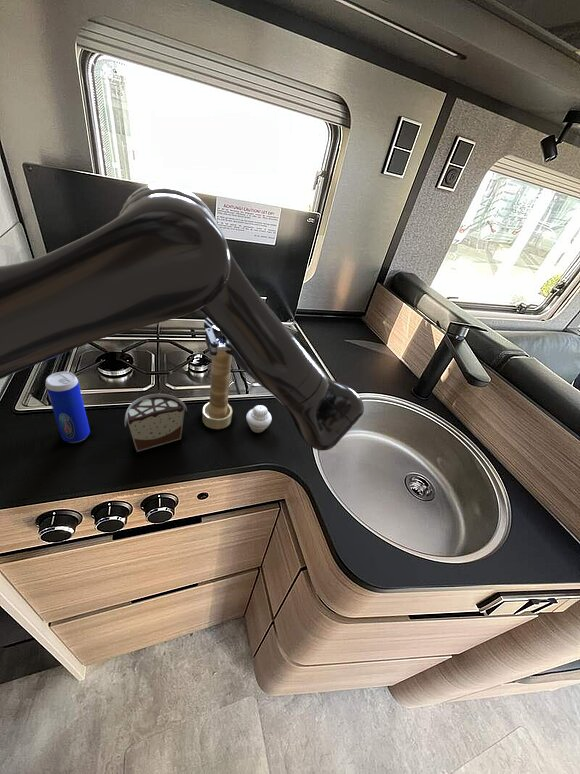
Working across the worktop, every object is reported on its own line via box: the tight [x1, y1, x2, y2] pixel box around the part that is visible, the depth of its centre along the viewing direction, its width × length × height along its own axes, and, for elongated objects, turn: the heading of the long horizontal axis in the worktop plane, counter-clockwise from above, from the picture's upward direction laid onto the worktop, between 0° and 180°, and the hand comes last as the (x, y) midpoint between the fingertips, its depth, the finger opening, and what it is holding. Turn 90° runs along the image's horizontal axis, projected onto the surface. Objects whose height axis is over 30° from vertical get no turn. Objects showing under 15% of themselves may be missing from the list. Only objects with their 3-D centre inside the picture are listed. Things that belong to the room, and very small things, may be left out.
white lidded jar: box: [245, 404, 273, 434], centre depth 80 cm, size 6×6×7 cm
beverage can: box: [45, 371, 91, 444], centre depth 66 cm, size 5×5×15 cm
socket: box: [201, 401, 233, 430], centre depth 81 cm, size 7×7×3 cm
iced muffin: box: [123, 393, 188, 453], centre depth 72 cm, size 12×6×10 cm, turn 123°
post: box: [209, 333, 233, 419], centre depth 74 cm, size 4×4×26 cm
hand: (217, 320), depth 69 cm, fingers closed on post, 4 cm apart
